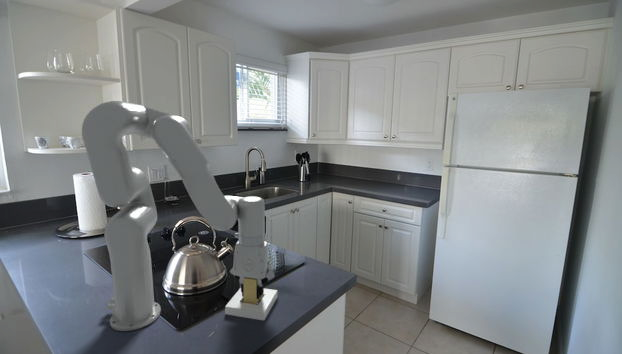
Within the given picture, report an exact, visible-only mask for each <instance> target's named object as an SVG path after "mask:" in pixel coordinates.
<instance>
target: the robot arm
mask: <svg viewBox="0 0 622 354" xmlns="http://www.w3.org/2000/svg"><path fill="white" fill-rule="evenodd" d="M191 129H192V128H191V126H190V124H189V122H188V121H187V120H186V119H185V118H183V117H182V116H179V115H176V114H172V113H168V112H164V111H161V110H157V109H154V108H151V107H148V106H144V105H142V104H138V103H133V102H127V101H121V100H110V101H105V102H102V103H101V104H98V105H96V106H95V107H93V108H91V110H90V111H89V112H88V113H87V114H86V115H85V117H84V119H83V122H82V124H81V137H82V141H83V144H84V149H85V151H86V153H87V156H88V160H89V164H90V168H91V172H92V175H93V178H94V182H95V185H96V189H97V193H98V196H99V198H100V200H101V202H102V203H103V204H104V205H106V206H108V207H111V208H119V209H120V210H119V211H118V212H116V213H115V214H114V215H112V217H111V218H110V219H108V222H107V223H106V225H105V226H104V227H105V228H104V240H105V243H106V246H107V251H108V254H109V259H110V261H109V262H110V268H111V269H110V270H111V275H112V276H111V278H112V287H113V288H112V289H113V295H114V296H112V297H111V298H110V299H109V301H108V304H106V306H105V309H106V310H112V315H111V317H110V319H109V326H110V327H111V328H112V329H113V330H115V331H118V332H119V331H120V332H130V331H134V330H139V329H142V328H144V327H146V326H148V325H150V324H152V323H153V322H155V321H156V320H157V319H158V318H159V316H160V314H161V311H162V309H161V305H160V304H159V303H158V302H156V301H155V296H154V293H155V292H154V281H153V270H152V269H153V268H152V267H153V266H152V257H151V255H152V254H151V250H150V246H149V243H148V234H149V233H150V231H151V230H152V229H153V228H154V227H155V225H156V223H157V221H158V213H157V212H158V211H157V206H156V203H155V198H154V194H153V192H152V187H151V184H150V181H149V178H148V176H147V175H146V173H144V171H142V170H141V169H140V168H138V167H136V166H135V167H134V166H132V165H131V162H130V157H129V154H128V151H127V149H126V147H125V144H124V143H123V137H124V136H130V135H131V136H132V135H136V136H141V137H144V138H147V139H151V140H154V142H155V144H157V146H158V148H159V149H160V150H161V152H162V153H163V154H164V156H165V157H166V159H167V160H168V162H169V163H170V164H171V165H172V167H173V169H174V171H176V172H177V174H178V176H179V177H180V178H181V180H182V183H183V185H184V188H185V189H186V191H187V193H188V195H189V197H190V198H191V199H190V200H191V201H192V203H193V204H194V206H195V208H196V209H197V210H198V212H199V213H200V214H201V217H203V219H204V221H206V223H207V224H208V226H210V227H211V228H213V229H214V230H216V231H220V232H224V231H228V230H230V229H232V228H233V226H235V225H236V223H237V222H238V232H235V233H234V238H235V239H238V240H237V242H236V243H235V248H234V252H233V265H232V268H231V269H230V270H229V273H230V274H231V275H233V276H234V277H235V278H236V280H238V282H239V283H238V284H240V288H241V292H242V297H244V288H243V278H244V277H247V278H254V279H257V281H258V286H257V299H259V298H260V297H261V295H263V293H264V288H265V284H267V282H269V281H271V280H273V279H274V278H275V276H276V275H275V273H274V271H273V270H272V268H271V265H270V253H269V247H268V242H267V241H266V240H265V238H266V236H265V235H266V234H265V233H266V232H265V231H266V229H265V228H266V227H265V225H266V224H265V221H266V220H265V215H266V214H265V213H266V211H265V209H266V208H265V207H266V205H265V200H264V198H262V197H259V196H254V195H253V196H252V195H251V196H249V195H248V196H245V197H243V196H233V195H224V194H223V192H222V190H221V189H220V187H219V185H218V183H217V182H216V179H215V177H214V176H215V175H214V173H213V169H212V165H211V162H210V161H209V159H208V157H207V156H206V154H205V153H204V151H203V150H202V148H201V147H200V146H199V144H198V143H197V141H196V140H195V139H194V137H193V135H192V134H191V133H192V130H191Z"/></svg>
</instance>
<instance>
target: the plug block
mask: <svg viewBox="0 0 622 354" xmlns="http://www.w3.org/2000/svg"><path fill="white" fill-rule="evenodd" d="M257 286H258V281H257V279H254V278H247V277H244V278H243V288H244V303H249V304H257V303H258V301H259V300H260V298H261V297H260V298H259V299H257Z"/></svg>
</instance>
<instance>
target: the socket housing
mask: <svg viewBox="0 0 622 354" xmlns="http://www.w3.org/2000/svg"><path fill="white" fill-rule="evenodd" d="M277 299H278V289H270V288H265V287H264V293H263V295H261V298H260V300H259V301H258V303H257V304H249V303H244V297H242V292H241V287H240V288H239V289H238V291H236V293H235V294H234V295H233V296H232V297H231V299H230V300H229V301H228V302H227V304H226V305H225V308H224V312H225V313H224V315H229V316H233V317H234V316H235V317H241V318H247V319H252V320H257V321H258V320H259V321H265V320H266V318H267V317H268V314H270V311H271V310H272V308H273V306H274V304H275V303H276V301H277Z"/></svg>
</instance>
